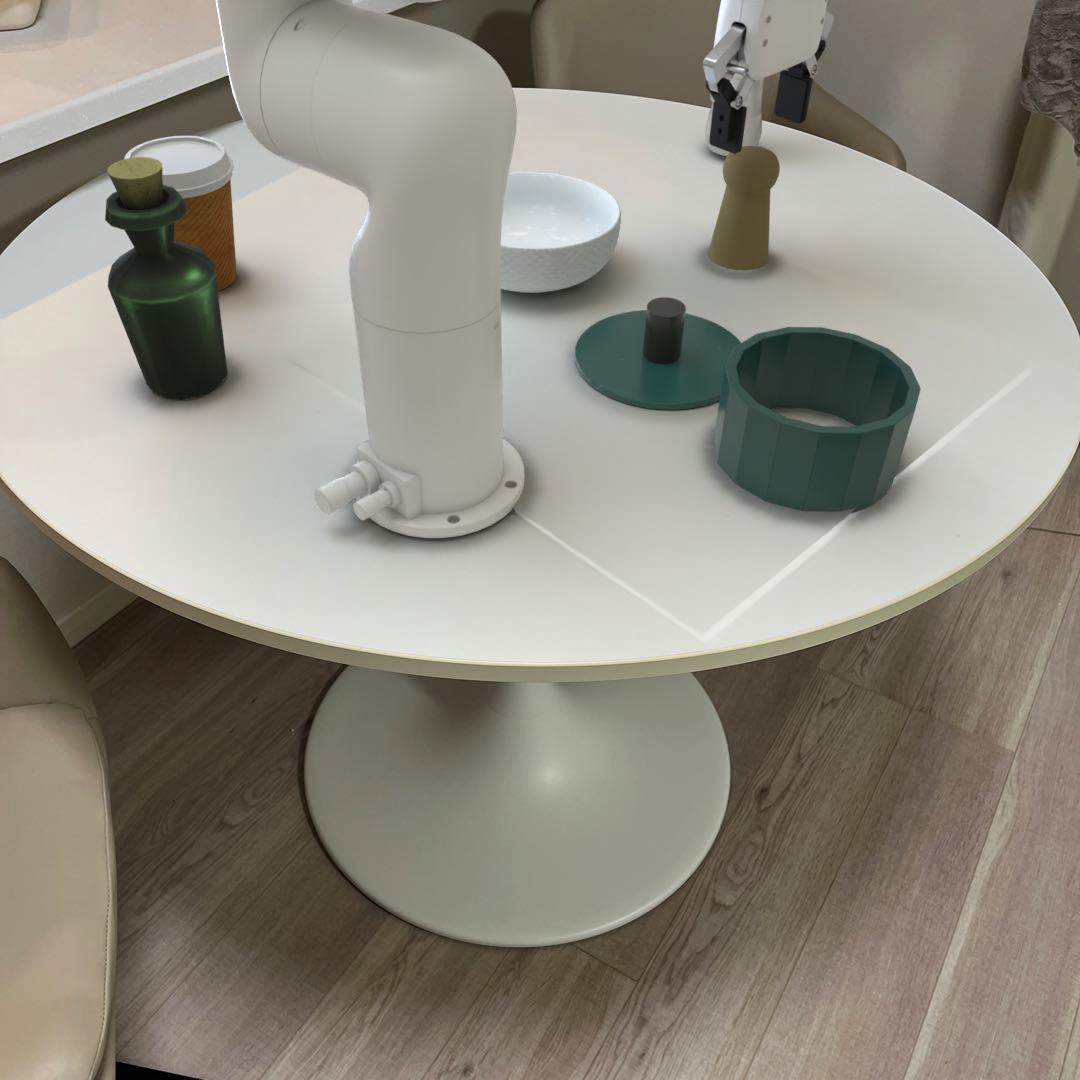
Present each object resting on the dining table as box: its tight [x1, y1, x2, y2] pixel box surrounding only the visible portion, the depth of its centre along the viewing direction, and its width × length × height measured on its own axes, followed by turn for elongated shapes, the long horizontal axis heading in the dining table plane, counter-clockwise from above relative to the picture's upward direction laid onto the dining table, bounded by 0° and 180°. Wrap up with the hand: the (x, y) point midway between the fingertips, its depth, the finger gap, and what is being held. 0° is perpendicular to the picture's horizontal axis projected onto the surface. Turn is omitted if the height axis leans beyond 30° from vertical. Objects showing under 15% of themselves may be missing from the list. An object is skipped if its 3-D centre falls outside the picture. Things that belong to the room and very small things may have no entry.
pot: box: [712, 326, 922, 514], centre depth 78 cm, size 14×14×8 cm
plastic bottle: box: [704, 63, 765, 157], centre depth 118 cm, size 6×7×20 cm
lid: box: [574, 296, 742, 411], centre depth 88 cm, size 15×15×6 cm
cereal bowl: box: [501, 171, 622, 294], centre depth 99 cm, size 17×17×7 cm
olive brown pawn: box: [707, 146, 781, 271], centre depth 101 cm, size 6×6×11 cm
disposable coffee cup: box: [123, 135, 238, 292], centre depth 96 cm, size 10×10×12 cm
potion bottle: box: [104, 157, 228, 400], centre depth 82 cm, size 8×8×18 cm
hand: (757, 133), depth 96 cm, fingers open, 9 cm apart
